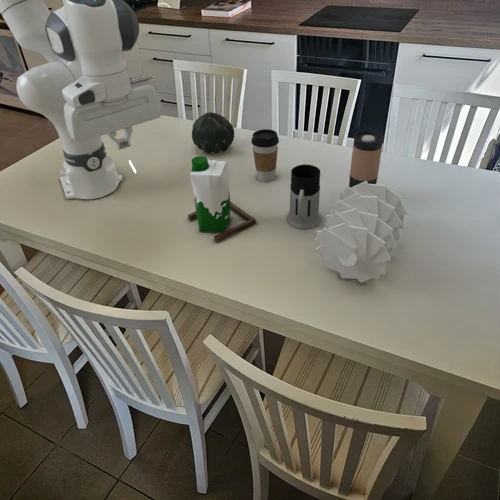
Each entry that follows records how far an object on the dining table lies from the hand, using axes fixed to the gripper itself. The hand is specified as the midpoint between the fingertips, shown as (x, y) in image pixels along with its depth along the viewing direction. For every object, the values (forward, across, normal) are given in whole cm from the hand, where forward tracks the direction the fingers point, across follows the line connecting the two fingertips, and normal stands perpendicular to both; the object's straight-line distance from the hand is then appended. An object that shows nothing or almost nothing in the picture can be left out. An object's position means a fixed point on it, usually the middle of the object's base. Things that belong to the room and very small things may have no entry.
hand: (123, 147), depth 99 cm
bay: (+29, -22, +2) cm, 36 cm away
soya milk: (+29, -20, +2) cm, 35 cm away
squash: (+29, -46, -37) cm, 66 cm away
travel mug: (+29, -59, +20) cm, 69 cm away
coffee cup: (+29, -47, -9) cm, 56 cm away
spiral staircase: (+29, -39, +37) cm, 61 cm away
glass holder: (+29, -38, +18) cm, 51 cm away
